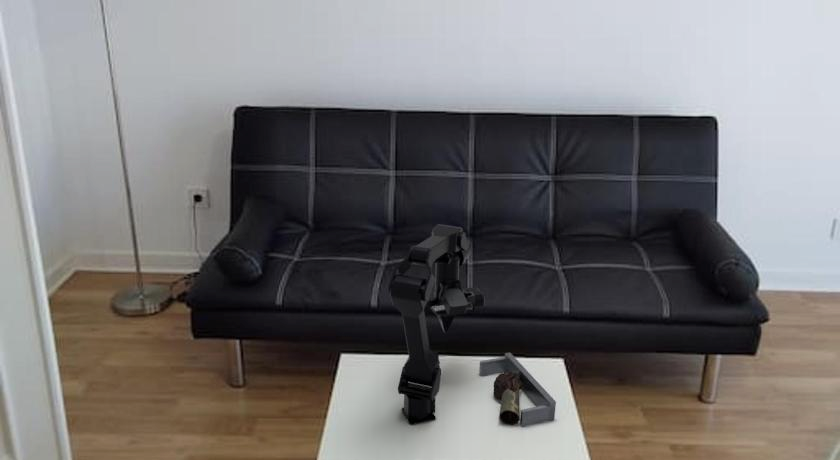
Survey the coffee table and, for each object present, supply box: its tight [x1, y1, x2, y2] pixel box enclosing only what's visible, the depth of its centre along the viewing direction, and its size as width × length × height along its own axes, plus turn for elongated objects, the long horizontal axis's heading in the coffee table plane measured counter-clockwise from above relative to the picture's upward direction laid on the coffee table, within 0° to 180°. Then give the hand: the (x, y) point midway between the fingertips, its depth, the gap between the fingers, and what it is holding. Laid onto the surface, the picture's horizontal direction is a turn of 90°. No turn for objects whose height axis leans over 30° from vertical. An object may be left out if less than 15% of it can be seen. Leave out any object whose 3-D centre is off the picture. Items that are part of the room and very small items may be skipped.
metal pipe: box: [493, 371, 522, 426], centre depth 188 cm, size 18×7×6 cm, turn 172°
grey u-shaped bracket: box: [478, 352, 557, 428], centre depth 191 cm, size 8×24×5 cm, turn 20°
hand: (445, 331), depth 195 cm, fingers closed
